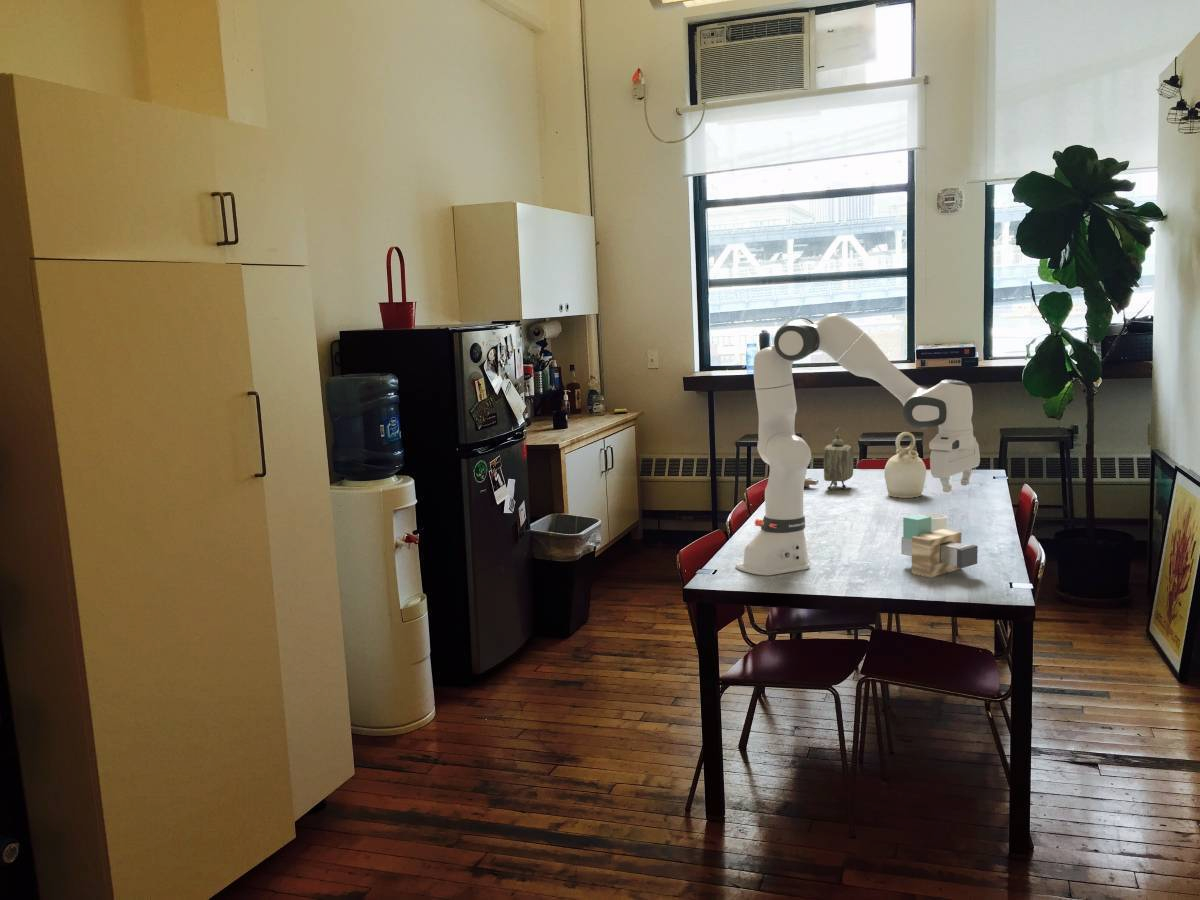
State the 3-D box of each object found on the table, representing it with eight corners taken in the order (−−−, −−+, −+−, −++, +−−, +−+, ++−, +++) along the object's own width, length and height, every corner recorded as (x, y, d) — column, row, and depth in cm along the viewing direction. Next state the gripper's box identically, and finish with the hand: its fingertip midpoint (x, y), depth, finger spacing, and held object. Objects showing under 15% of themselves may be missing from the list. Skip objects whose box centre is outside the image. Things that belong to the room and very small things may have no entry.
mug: (903, 557, 295) (904, 517, 293) (908, 550, 302) (908, 511, 301) (945, 559, 290) (946, 519, 288) (948, 552, 297) (949, 513, 296)
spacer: (917, 540, 278) (918, 519, 278) (903, 537, 282) (903, 517, 282) (931, 537, 282) (931, 516, 281) (916, 534, 286) (916, 514, 285)
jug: (929, 499, 377) (929, 433, 374) (887, 499, 380) (887, 434, 376) (922, 491, 392) (923, 428, 389) (882, 492, 395) (882, 429, 391)
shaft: (961, 568, 267) (961, 550, 266) (899, 554, 284) (899, 537, 283) (977, 563, 271) (977, 545, 270) (914, 550, 288) (914, 533, 287)
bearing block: (929, 577, 272) (930, 540, 270) (911, 573, 277) (911, 536, 275) (961, 568, 280) (961, 532, 278) (942, 564, 284) (943, 528, 283)
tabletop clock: (832, 485, 414) (831, 425, 410) (854, 485, 410) (853, 425, 406) (823, 491, 401) (823, 429, 397) (846, 492, 397) (846, 430, 393)
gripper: (964, 432, 280) (964, 480, 282) (925, 444, 267) (926, 494, 269) (985, 433, 275) (985, 482, 277) (947, 445, 262) (947, 496, 264)
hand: (956, 488), depth 273 cm, fingers open, 8 cm apart
